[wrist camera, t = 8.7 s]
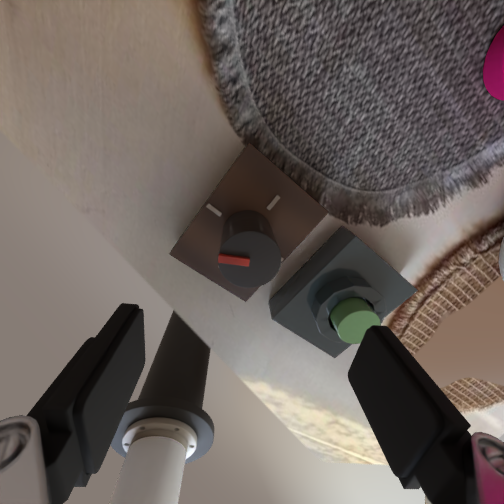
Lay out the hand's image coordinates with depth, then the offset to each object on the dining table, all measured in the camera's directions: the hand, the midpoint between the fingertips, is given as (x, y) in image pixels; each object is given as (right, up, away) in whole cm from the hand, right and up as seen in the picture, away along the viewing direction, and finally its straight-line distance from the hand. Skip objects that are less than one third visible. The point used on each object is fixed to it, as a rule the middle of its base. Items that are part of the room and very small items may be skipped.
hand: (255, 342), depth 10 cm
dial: (-1, +5, +11) cm, 13 cm away
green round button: (+10, -2, +14) cm, 17 cm away
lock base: (-1, +7, +14) cm, 16 cm away
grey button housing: (+9, -1, +18) cm, 20 cm away
